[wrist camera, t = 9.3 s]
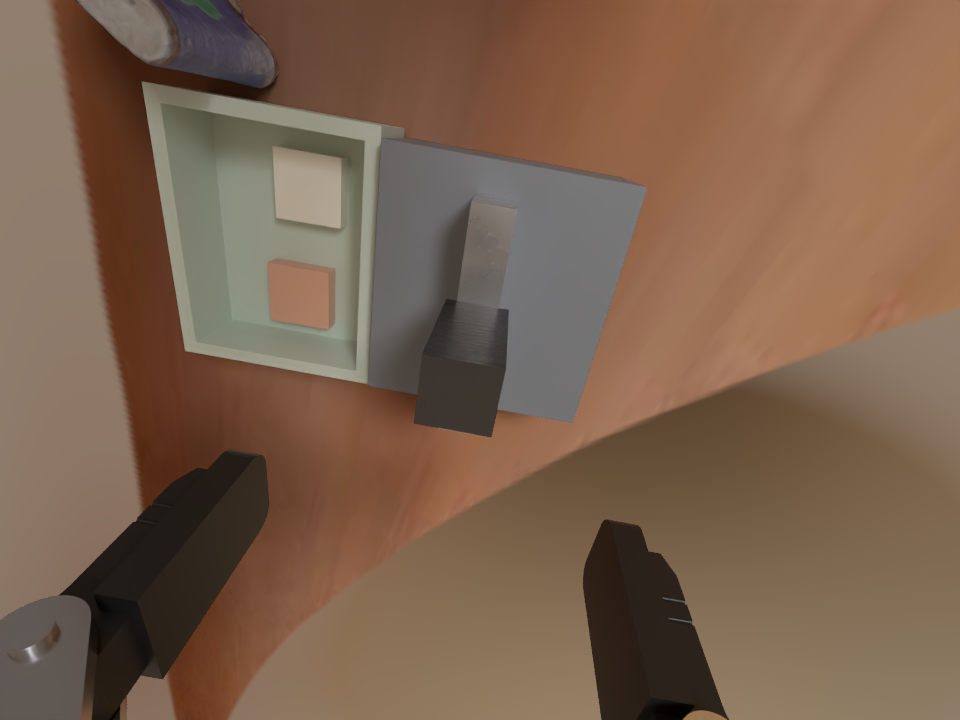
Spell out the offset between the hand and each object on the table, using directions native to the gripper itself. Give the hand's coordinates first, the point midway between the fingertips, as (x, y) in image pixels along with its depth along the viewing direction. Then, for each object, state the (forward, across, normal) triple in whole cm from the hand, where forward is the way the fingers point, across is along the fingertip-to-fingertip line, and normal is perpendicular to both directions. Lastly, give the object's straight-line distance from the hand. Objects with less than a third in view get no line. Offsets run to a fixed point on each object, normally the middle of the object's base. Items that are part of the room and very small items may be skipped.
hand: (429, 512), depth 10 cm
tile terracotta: (+19, +12, +4) cm, 23 cm away
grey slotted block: (+22, 0, 0) cm, 22 cm away
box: (+22, +12, 0) cm, 25 cm away
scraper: (+16, 0, +1) cm, 16 cm away
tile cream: (+19, +11, -3) cm, 23 cm away
